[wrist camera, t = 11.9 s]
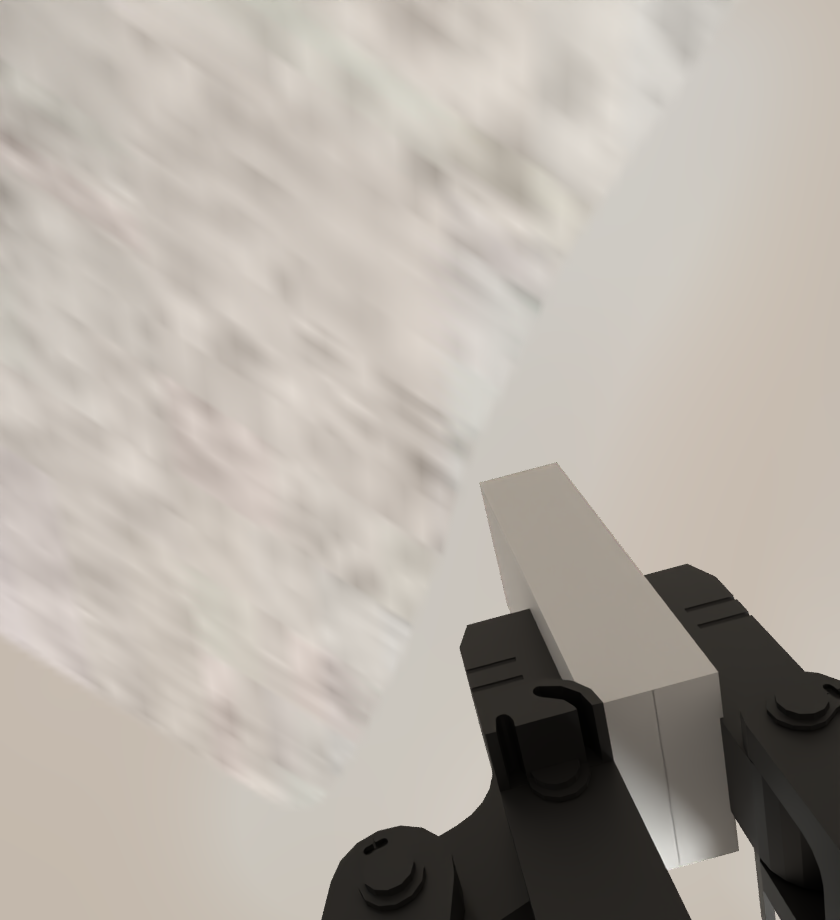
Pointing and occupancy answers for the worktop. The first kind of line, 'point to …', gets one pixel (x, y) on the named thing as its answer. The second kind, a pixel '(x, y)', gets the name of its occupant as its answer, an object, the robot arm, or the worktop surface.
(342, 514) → the worktop surface
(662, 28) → the worktop surface
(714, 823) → the robot arm
